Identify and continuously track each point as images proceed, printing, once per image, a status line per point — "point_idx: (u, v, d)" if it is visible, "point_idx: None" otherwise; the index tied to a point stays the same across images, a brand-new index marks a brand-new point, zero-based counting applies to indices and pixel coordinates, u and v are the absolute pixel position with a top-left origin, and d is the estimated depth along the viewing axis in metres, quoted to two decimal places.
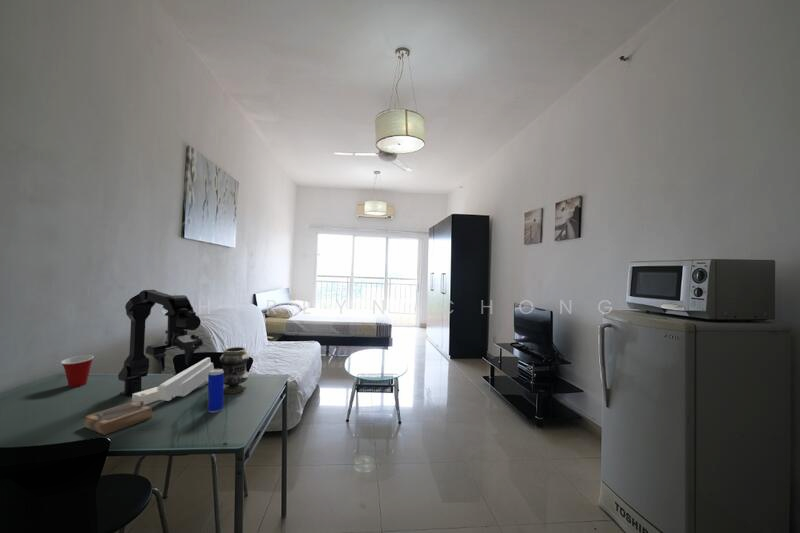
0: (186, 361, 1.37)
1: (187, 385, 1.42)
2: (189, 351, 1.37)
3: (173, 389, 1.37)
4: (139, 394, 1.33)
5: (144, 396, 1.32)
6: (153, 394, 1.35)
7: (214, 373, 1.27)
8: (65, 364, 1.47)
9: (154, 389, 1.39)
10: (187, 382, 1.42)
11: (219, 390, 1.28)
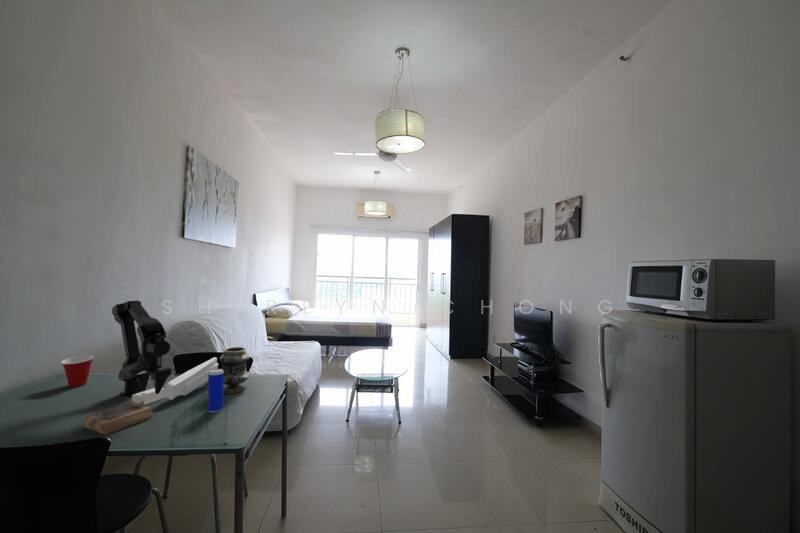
0: None
1: (191, 385, 1.43)
2: None
3: (178, 389, 1.37)
4: (139, 394, 1.33)
5: (144, 395, 1.33)
6: (153, 393, 1.36)
7: (214, 373, 1.27)
8: (65, 364, 1.47)
9: (153, 389, 1.39)
10: (192, 383, 1.43)
11: (219, 390, 1.28)
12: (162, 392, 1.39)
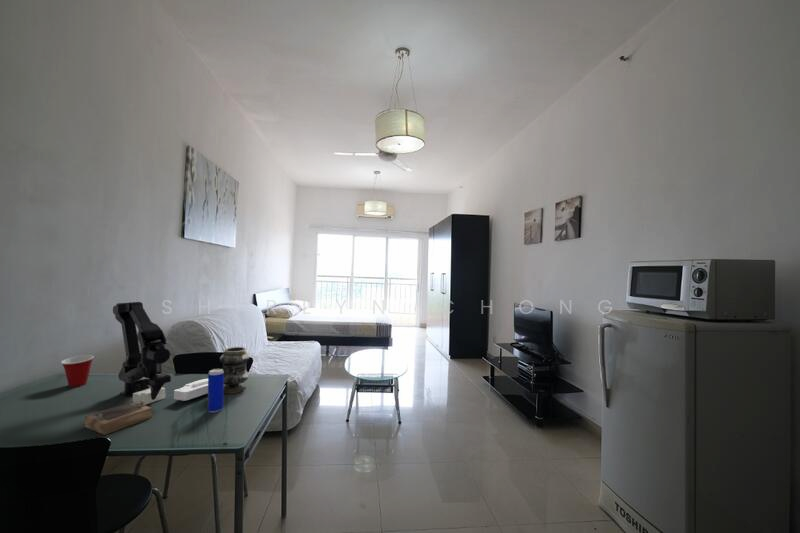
0: None
1: None
2: None
3: None
4: (139, 393, 1.33)
5: (145, 395, 1.33)
6: None
7: (214, 373, 1.27)
8: (65, 364, 1.47)
9: None
10: None
11: (219, 390, 1.28)
12: (162, 392, 1.39)
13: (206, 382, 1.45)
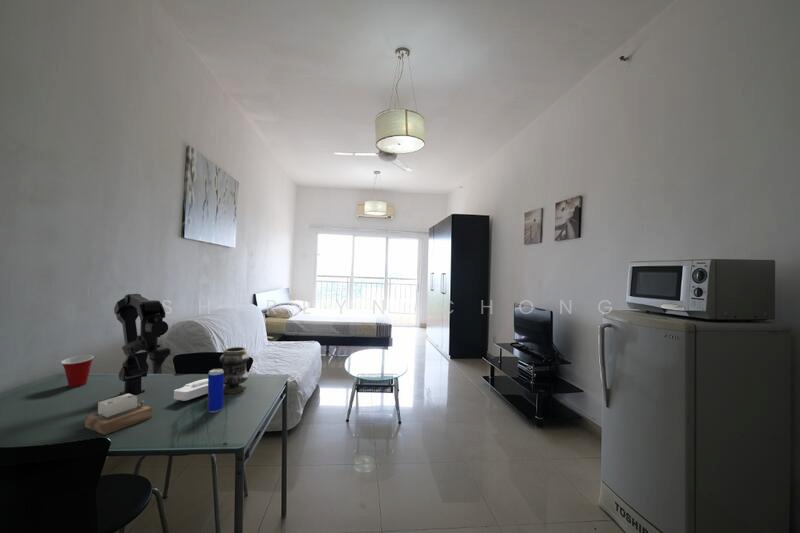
0: None
1: None
2: None
3: None
4: (106, 402, 1.15)
5: (111, 405, 1.15)
6: (122, 402, 1.18)
7: (214, 373, 1.27)
8: (65, 364, 1.47)
9: (125, 396, 1.21)
10: None
11: (219, 390, 1.28)
12: (134, 400, 1.21)
13: (206, 382, 1.45)
